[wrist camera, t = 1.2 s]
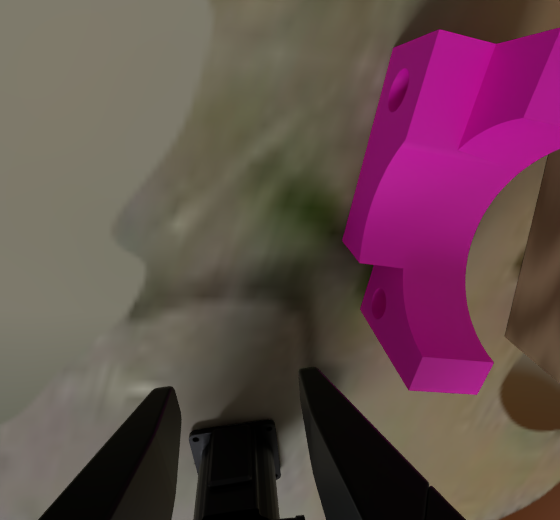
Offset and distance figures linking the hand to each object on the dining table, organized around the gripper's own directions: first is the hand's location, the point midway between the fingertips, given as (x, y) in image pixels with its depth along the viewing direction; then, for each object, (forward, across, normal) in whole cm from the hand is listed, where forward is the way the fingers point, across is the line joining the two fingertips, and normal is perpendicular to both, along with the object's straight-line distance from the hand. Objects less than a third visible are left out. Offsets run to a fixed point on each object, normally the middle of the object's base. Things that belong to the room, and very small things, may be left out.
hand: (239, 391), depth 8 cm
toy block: (+13, -10, 0) cm, 17 cm away
